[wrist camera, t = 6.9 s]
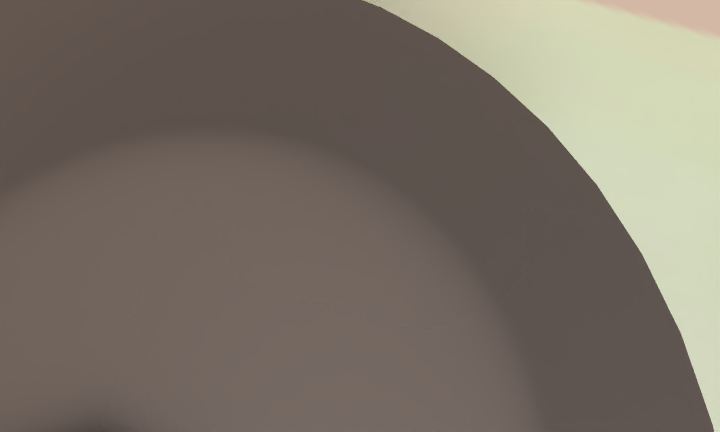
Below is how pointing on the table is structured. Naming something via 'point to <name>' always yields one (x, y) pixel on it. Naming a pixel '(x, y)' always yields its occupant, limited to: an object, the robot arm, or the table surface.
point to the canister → (304, 235)
